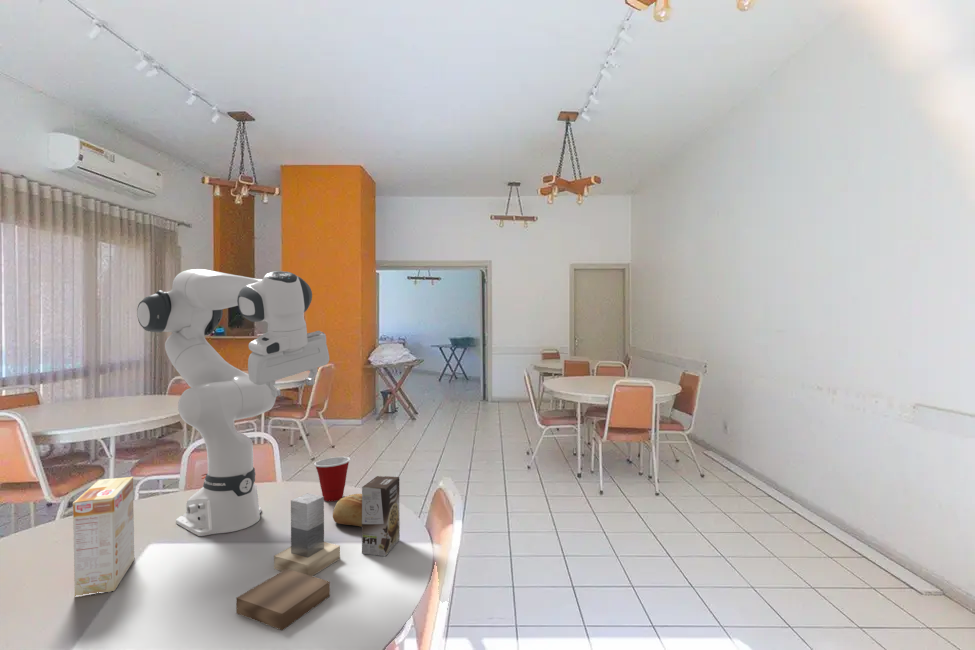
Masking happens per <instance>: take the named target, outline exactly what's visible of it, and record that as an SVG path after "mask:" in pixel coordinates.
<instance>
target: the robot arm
mask: <svg viewBox="0 0 975 650" xmlns="http://www.w3.org/2000/svg"><path fill="white" fill-rule="evenodd" d="M312 300H313V290H312V289H311V287H310V285H309V284H308V282H306V281H305V280H304V279H303V278H301V277H300V276H299V275H296V274H295V273H292V272H290V271H283V270H282V271H281V270H277V271H276V270H275V271H271V272H268V273H266V274H265V275H264V276H263V278H256V277H249V276H243V275H237V274H232V273H226V272H221V271H217V270H216V271H215V270H210V269H205V268H204V269H203V268H196V269H195V268H194V269H192V268H191V269H187V270H183V271H181V272H179V273H177V275H176V276H175V277H174V279H173V281H172V287H171V289H170V290H169V291H163V290H161V289H160V290H158V291H156V292H155V293H154V294H150V295H148V296H145V297H144V298H142V300H141V301H140V302H139V303H138V304H137V305H138V306H137V308H136V316H137V320H138V321H137V322H138V323H139V325H140V327H141V328H142V329H143V330H144V331H146V332H151V333H163V332H164V333H165V332H166V333H167V332H168V333H171V334H170V335H169V336H168V337H167V339H166V340H165V342H164V350H165V353H166V355H167V357H168V359H169V361H170V363H171V365H172V366H173V367H174V369H175V370H176V372H177V373H178V374H179V375H180V377H181V378H182V379H183V380H184V381H185V382H186V384H187V386H188V387H189V388H187V389H185V390H184V391H183V392H182V393H181V395H180V396H179V399H178V403H177V411H178V414H179V416H180V418H181V419H182V421H184V423H186V424H187V425H189V426H191V427H193V429H195V430H196V431H197V432H198V433H199V434H200V436H201V438H202V439H203V442H204V443H205V448H206V456H207V457H206V460H207V473H204V474H201V476H200V477H201V480H203V479H204V481H203V484H202V487H201V488H200V489H199V490H198V491H196V492H195V493H194V494H192V495H191V496H190V497H189V498H188V499H187V501H186V508H185V513H183V514H181V515H180V516H179V517H177V518H176V519H175V524H176V525H178V526H180V527H182V528H184V529H185V530H188V531H189V532H191V533H193V534H194V535H196V536H198V537H204V536H209V535H215V534H225V533H231V532H237V531H240V530H244V529H246V528H249V527H251V526H253V525H255V524H256V523H258V522H259V521H260V519H261V515H260V514H261V513H262V511H263V510H262V507H261V506H260V503H259V496H258V487H257V485H256V483H255V481H256V469H255V467H254V443H253V441H252V439H251V438H250V437H249V436H248V435H246V434H243V433H242V432H238V430H237V429H236V426H235V421H238V420H243V419H248V418H253V417H257V416H259V415H262V414H264V413H266V412H269V411H270V410H271V409H272V408H273V407H274V405H275V403H276V399H277V398H278V397H281V395H282V393H281V389H280V388H278V387H276V386H275V385H276V381H279V380H282V379H284V378H285V379H286V378H288V377H291V376H294V375H297V374H300V373H304V372H308V371H309V372H308V376H307V377H306V378H305V384H306V386H308V387H309V386H313V385H315V383H316V382H315V378H316V375H317V373H318V370H319V369H318V368H321V367H323V366H326V365H328V364H329V361H330V353H329V349H328V344H327V335H326V333H324V331H321V330H316V331H312V332H308V329H307V323H306V320H305V315H304V313H306V312H307V311H308V310H309V307H310V305H311V303H312ZM234 307H238V311H239V313H240V315H241V316H242V317H243V318H245V319H246V320H248V321H249V322H254V323H255V322H256V323H260V322H266V323H267V331H266V332H265V333H263V334H262V335H260V336H258V337H257V338H255V339H254V340H253V339H252V341H250V342H249V343H248V350H250V352H251V353H250V354H249V355H248V359H247V371H248V373H247V372H245V371H243V370H241V369H239V368H238V367H235V366H234V365H232V364H230V363H229V362H228V361H226V360H225V359H224V358H223V357H222V356H221V355H220V353H218V352H217V350H216V349H215V348H214V347H213V346H212V345H211V344H210V342H208V341H207V339H206V336H209V335H211V334H212V333H213V332H214V330H215V329H216V328H217V327H218V325H219V324H220V322H221V320H222V319H223V314H224V312H223V311H224V309H229V308H234Z"/></svg>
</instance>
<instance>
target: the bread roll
mask: <svg viewBox="0 0 975 650" xmlns="http://www.w3.org/2000/svg"><path fill="white" fill-rule="evenodd" d="M332 519H333V521H334V522H335V523H336V524H340V525H346V526H347V525H348V526H356V527H360V528H362V493H353V494H349V495H347V496H343V497H342V498H341V499H340V500H338V501H336V504H335V506H334V508H333V510H332Z"/></svg>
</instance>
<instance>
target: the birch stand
mask: <svg viewBox="0 0 975 650" xmlns="http://www.w3.org/2000/svg"><path fill="white" fill-rule="evenodd" d="M340 559H341V545H338V544H334V543H330V542H326V541H324V549H322V550H320V551H318V552H317V553H315V554H313V555H312V556H310V557H308V558H307V557H303V556H300V555H296V554H292V553H291V546H289V547H288V548H286V549H284V550H282V551H280V552H278V553H277V554H275V555H273V561H274V562H273V568H274V570H276V571H280V572H282V571H283V570H285V569H289V570H292V571H296V572H299V573H303V574H306V575H309V576H313V577H314V576H315V575H317V574H318V573H320V572H321V571H324V569H326V568H327V567H330V565H332V564H334V563H335V562H337V561H338V560H340Z"/></svg>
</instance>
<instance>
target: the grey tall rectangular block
mask: <svg viewBox="0 0 975 650" xmlns="http://www.w3.org/2000/svg"><path fill="white" fill-rule="evenodd" d="M324 502H325V500H324V496H323V495H318V494H313V493H305V494H302V495H301V496H298V497H295V498H293V499H291V500H290V547H291V553H292V554H296V555H300V556H303V557H307V558H308V557H310V556H312V555H313V554H315V553H317V552H318V551H320V550H322V549H324V542H325V504H324Z"/></svg>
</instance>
